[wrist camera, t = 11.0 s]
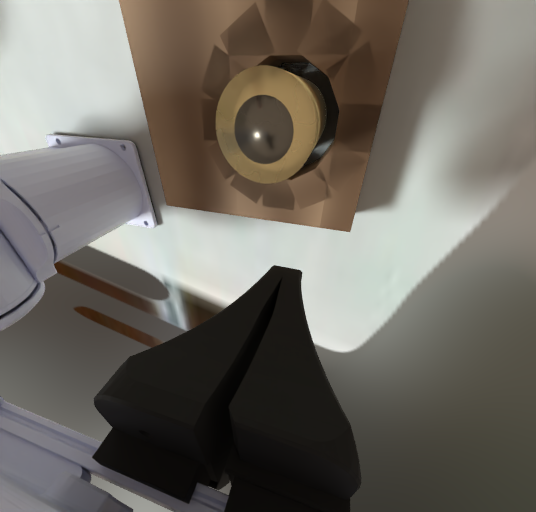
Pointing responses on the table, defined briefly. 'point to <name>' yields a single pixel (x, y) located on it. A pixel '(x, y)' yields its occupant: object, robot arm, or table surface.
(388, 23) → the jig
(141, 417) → the robot arm
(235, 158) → the bushing
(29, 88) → the table surface
